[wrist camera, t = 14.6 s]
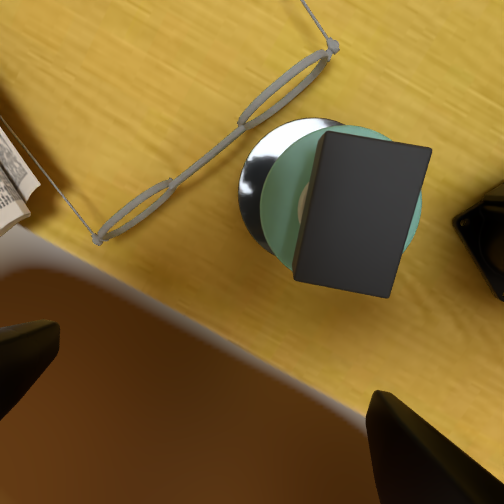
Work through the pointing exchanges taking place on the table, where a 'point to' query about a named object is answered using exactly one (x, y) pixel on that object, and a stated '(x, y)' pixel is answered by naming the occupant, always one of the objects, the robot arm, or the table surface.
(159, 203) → the eyeglasses
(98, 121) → the table surface
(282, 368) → the table surface
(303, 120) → the coaster
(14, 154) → the newspaper
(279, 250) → the pale green rounded piece
